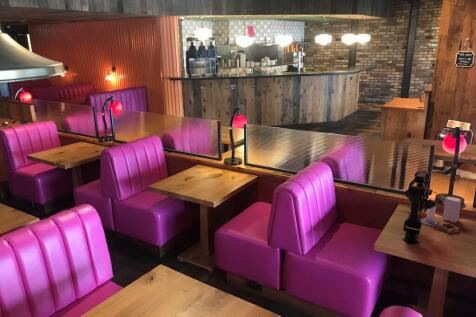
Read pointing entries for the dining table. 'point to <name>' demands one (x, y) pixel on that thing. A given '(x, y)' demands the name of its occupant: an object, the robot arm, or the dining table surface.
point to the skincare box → (451, 209)
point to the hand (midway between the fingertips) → (418, 208)
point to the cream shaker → (430, 214)
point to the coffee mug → (421, 205)
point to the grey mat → (429, 222)
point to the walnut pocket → (453, 228)
